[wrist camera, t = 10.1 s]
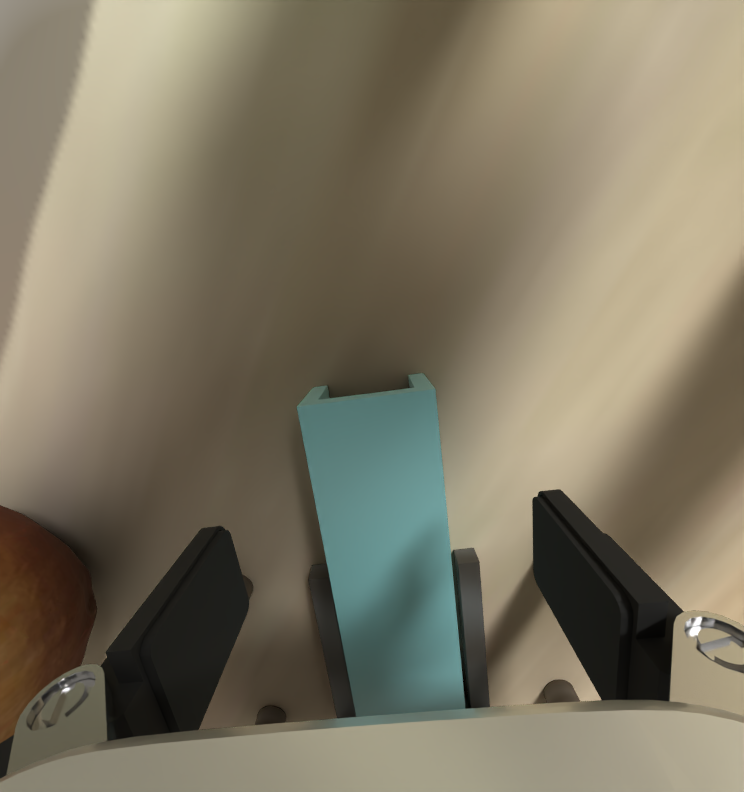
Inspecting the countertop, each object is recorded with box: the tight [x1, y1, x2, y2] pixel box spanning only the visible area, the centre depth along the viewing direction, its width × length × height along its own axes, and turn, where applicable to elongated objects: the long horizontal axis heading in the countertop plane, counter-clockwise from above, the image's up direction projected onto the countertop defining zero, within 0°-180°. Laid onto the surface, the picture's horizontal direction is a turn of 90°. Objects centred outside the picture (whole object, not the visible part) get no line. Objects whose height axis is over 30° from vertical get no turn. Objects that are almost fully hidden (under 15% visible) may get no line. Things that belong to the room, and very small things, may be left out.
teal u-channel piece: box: [297, 373, 465, 717], centre depth 19 cm, size 22×6×4 cm, turn 8°
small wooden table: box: [242, 548, 580, 725], centre depth 17 cm, size 13×22×12 cm, turn 98°
